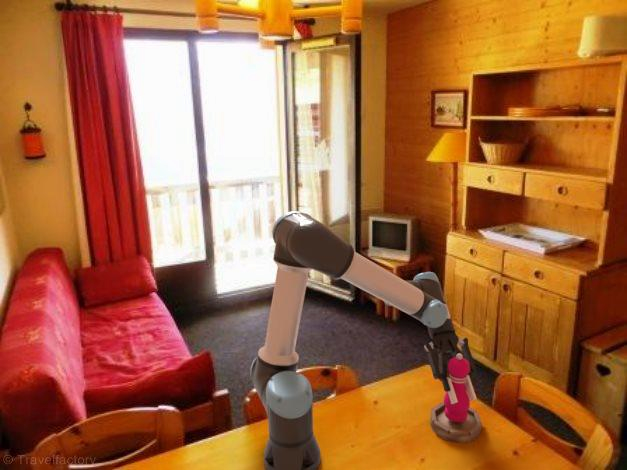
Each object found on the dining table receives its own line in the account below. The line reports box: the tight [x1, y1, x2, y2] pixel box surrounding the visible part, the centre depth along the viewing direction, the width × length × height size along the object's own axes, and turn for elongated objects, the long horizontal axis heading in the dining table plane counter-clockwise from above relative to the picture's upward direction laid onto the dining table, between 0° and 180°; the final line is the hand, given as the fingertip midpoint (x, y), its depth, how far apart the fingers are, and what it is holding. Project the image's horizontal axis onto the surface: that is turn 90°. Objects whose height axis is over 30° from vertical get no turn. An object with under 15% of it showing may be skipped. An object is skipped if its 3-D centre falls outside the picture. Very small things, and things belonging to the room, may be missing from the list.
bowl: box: [429, 401, 483, 444], centre depth 135 cm, size 14×14×3 cm
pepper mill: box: [443, 352, 471, 422], centre depth 132 cm, size 7×7×20 cm
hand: (464, 401), depth 130 cm, fingers closed on pepper mill, 5 cm apart
